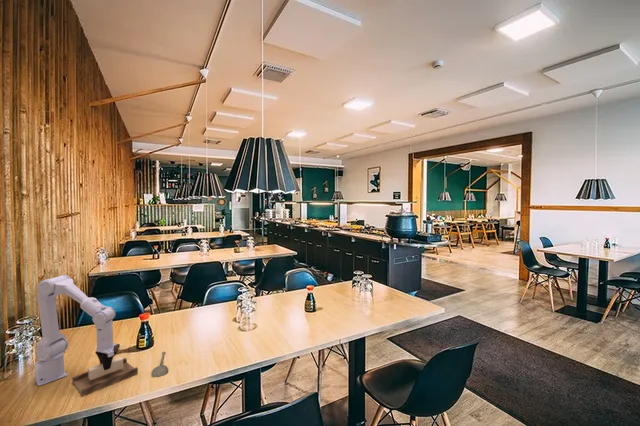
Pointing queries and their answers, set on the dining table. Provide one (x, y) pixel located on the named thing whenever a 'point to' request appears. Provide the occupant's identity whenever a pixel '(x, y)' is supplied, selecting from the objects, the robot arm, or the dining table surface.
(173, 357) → the dining table surface
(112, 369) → the clay bar
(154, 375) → the soupspoon
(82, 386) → the tray
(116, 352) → the ice cream bar
